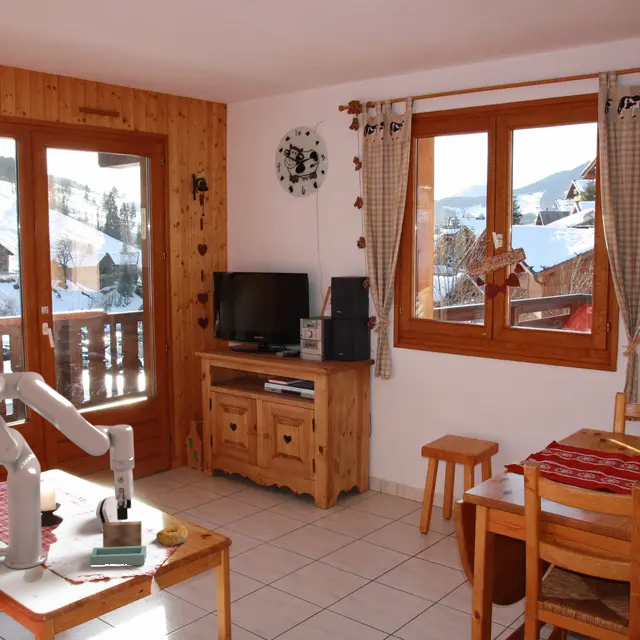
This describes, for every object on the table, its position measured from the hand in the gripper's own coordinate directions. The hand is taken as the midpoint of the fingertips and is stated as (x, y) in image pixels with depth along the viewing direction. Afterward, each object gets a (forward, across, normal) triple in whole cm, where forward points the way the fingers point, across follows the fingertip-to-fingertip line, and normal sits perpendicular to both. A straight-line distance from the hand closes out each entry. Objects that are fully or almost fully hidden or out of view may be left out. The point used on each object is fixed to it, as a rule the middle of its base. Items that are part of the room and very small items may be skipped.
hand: (124, 513), depth 244 cm
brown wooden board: (+12, 0, +1) cm, 12 cm away
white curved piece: (+12, +24, +8) cm, 28 cm away
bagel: (+13, +6, -14) cm, 20 cm away
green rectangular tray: (+12, -10, +1) cm, 15 cm away
